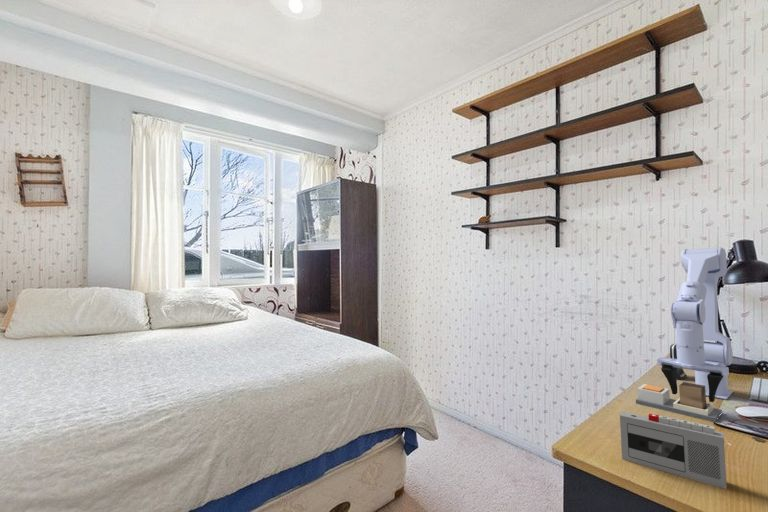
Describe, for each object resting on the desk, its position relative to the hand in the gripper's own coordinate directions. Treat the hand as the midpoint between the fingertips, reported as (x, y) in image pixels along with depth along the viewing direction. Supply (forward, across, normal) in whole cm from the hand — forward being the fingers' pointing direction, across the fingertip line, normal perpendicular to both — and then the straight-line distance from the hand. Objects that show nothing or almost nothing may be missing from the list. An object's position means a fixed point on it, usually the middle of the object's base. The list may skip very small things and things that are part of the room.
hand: (692, 397), depth 96 cm
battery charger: (+4, -10, +33) cm, 35 cm away
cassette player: (+4, +4, -37) cm, 38 cm away
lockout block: (+3, 0, 0) cm, 3 cm away
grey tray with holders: (+4, -4, 0) cm, 5 cm away
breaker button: (+3, -9, 0) cm, 9 cm away
